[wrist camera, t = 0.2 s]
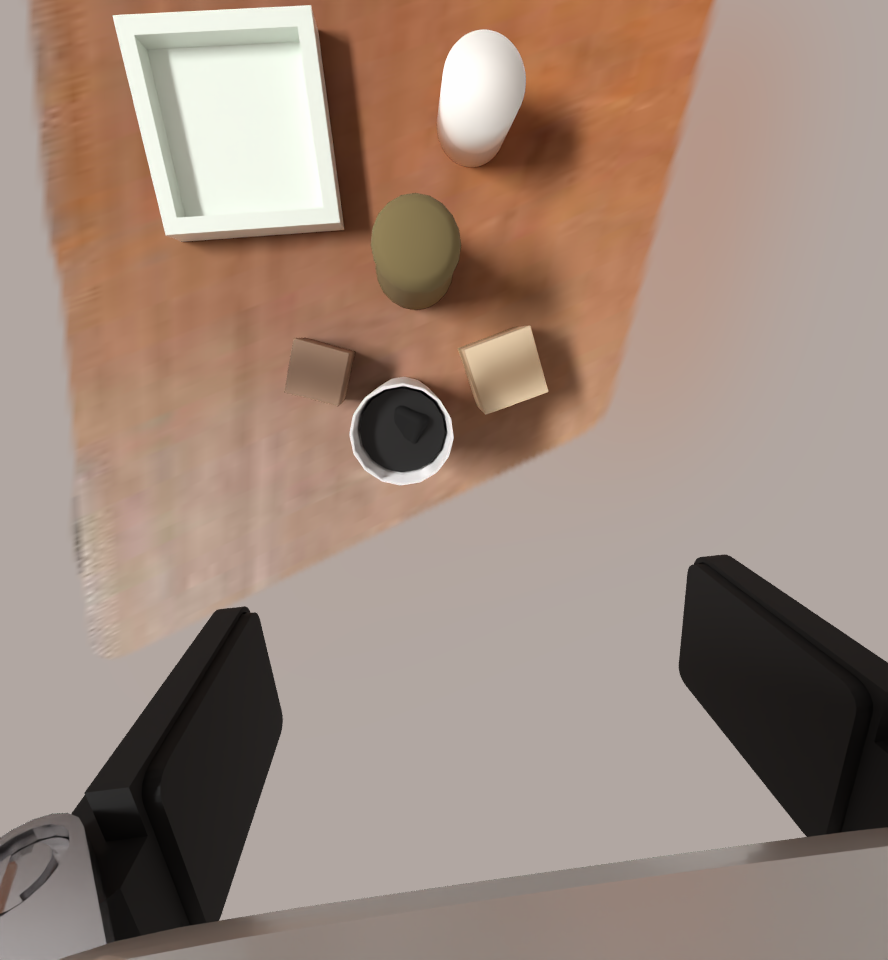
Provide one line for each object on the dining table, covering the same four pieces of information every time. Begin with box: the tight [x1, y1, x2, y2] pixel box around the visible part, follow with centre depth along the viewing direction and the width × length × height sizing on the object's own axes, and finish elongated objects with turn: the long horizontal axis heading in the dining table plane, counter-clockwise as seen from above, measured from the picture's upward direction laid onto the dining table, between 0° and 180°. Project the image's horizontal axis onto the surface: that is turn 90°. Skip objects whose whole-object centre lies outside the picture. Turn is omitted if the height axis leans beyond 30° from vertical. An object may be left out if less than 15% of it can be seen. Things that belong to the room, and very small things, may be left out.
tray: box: [113, 5, 344, 242], centre depth 31 cm, size 12×12×2 cm
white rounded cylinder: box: [437, 30, 526, 167], centre depth 30 cm, size 5×5×6 cm
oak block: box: [458, 326, 548, 415], centre depth 35 cm, size 5×5×5 cm
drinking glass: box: [350, 377, 454, 485], centre depth 34 cm, size 7×7×10 cm
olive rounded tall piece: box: [371, 193, 461, 310], centre depth 30 cm, size 6×6×11 cm
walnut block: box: [284, 338, 355, 406], centre depth 35 cm, size 4×4×4 cm
